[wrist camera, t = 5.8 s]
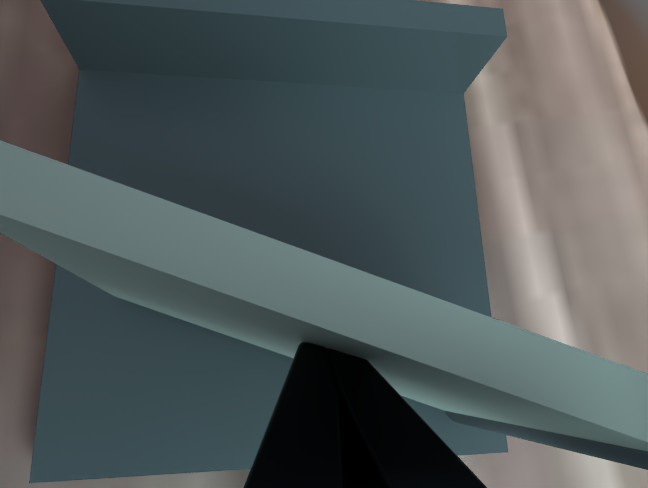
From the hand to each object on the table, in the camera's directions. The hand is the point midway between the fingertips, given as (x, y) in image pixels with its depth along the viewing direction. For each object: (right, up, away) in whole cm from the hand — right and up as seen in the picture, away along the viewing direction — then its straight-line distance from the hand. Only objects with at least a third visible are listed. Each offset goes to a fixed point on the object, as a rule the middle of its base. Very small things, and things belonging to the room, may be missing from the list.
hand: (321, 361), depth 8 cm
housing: (-1, +2, +7) cm, 8 cm away
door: (-1, -1, +5) cm, 5 cm away
